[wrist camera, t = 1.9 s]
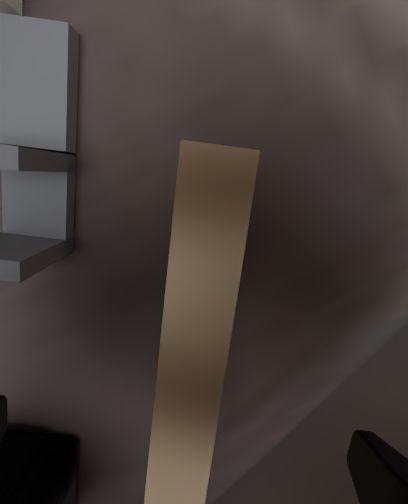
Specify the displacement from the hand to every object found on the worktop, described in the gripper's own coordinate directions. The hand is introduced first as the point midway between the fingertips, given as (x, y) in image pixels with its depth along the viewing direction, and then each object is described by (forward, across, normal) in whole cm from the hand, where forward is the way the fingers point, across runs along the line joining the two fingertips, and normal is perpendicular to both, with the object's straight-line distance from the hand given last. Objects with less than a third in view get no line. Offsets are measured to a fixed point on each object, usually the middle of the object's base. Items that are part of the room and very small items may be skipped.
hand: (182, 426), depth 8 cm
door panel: (+9, 0, 0) cm, 9 cm away
